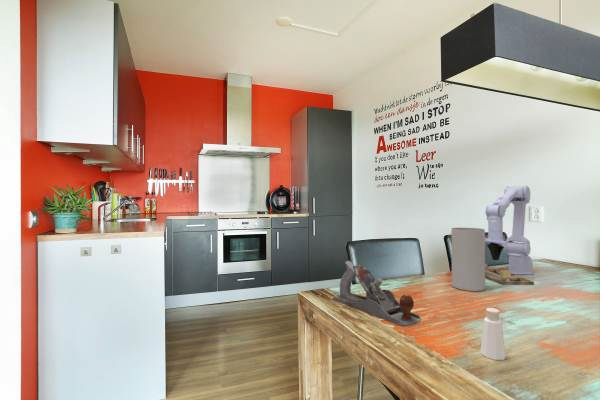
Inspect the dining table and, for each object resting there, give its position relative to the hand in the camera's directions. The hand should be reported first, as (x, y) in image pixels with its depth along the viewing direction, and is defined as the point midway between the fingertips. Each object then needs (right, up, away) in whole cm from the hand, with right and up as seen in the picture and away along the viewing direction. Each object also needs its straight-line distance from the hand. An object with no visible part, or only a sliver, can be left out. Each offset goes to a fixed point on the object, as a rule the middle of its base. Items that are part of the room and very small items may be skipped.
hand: (495, 259), depth 147 cm
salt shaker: (-44, -10, -71) cm, 84 cm away
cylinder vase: (-20, -10, -13) cm, 25 cm away
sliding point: (+3, -8, -6) cm, 10 cm away
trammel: (+3, -8, +2) cm, 9 cm away
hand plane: (-66, -10, -38) cm, 77 cm away
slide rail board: (+4, -9, +2) cm, 11 cm away
